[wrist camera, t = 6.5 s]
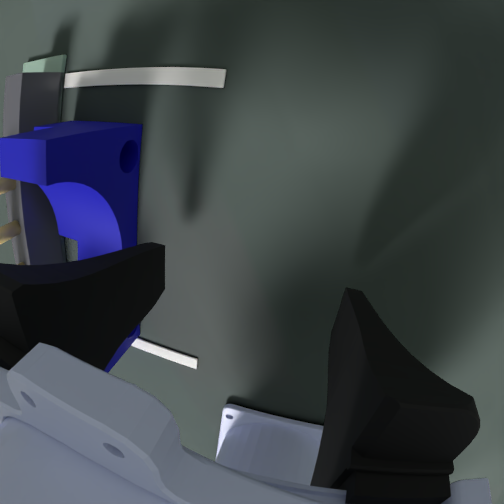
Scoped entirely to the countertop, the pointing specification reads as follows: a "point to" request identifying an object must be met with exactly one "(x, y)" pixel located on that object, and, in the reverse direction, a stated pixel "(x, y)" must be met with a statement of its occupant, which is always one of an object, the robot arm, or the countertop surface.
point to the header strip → (24, 193)
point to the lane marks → (154, 77)
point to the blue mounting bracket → (84, 183)
